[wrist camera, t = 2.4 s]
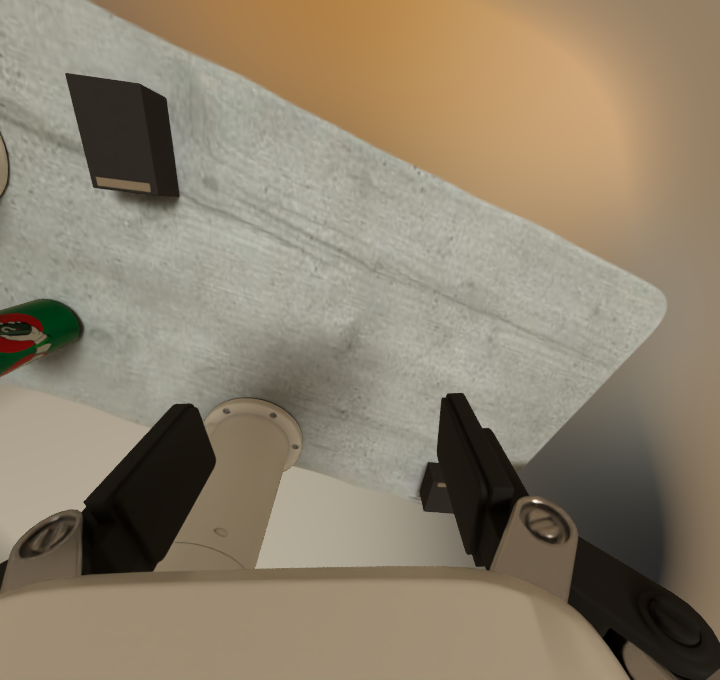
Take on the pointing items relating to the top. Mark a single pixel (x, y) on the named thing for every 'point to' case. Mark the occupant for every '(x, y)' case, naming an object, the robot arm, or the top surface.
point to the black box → (124, 135)
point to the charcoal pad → (435, 491)
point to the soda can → (34, 332)
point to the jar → (3, 166)
